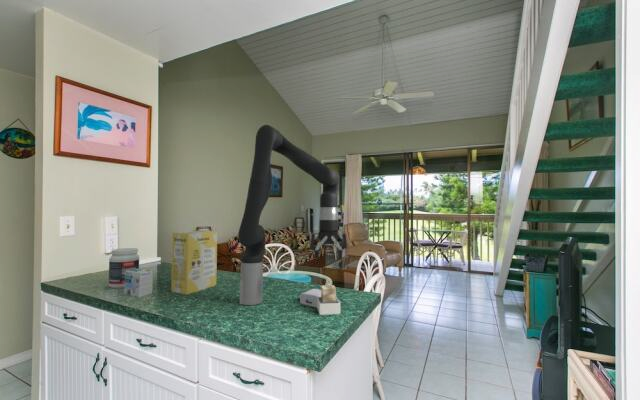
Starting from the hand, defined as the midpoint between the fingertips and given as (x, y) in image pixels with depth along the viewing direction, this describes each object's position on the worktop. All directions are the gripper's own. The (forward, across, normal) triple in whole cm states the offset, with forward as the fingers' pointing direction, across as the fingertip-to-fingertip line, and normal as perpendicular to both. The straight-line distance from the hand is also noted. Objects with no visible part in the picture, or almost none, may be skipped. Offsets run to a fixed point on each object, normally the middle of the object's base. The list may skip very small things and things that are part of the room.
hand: (328, 259), depth 117 cm
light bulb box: (+21, -84, +31) cm, 92 cm away
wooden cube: (+16, 0, 0) cm, 16 cm away
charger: (+20, -2, +12) cm, 24 cm away
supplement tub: (+21, -98, +47) cm, 111 cm away
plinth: (+20, 0, 0) cm, 20 cm away
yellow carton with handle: (+21, -61, +38) cm, 75 cm away
